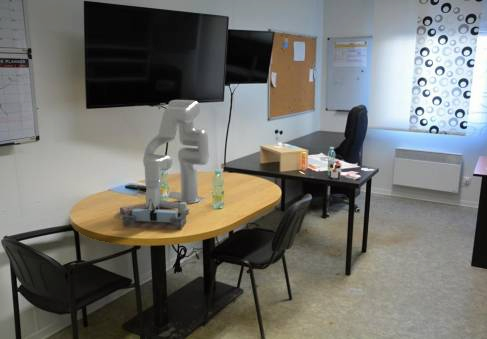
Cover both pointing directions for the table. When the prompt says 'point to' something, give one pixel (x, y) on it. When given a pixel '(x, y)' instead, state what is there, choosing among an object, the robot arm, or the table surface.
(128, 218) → the cradle
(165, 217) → the slat
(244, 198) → the table surface
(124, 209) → the grey brown block
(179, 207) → the grey long bar
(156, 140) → the robot arm
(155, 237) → the table surface
